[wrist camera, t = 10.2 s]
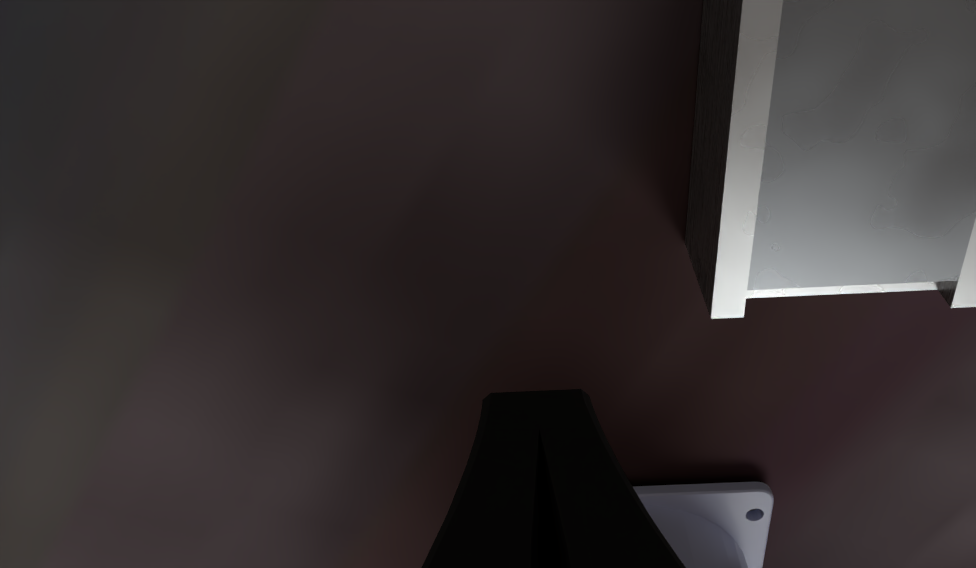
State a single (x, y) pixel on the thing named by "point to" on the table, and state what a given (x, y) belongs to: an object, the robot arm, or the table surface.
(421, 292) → the table surface
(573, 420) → the robot arm
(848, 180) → the rack
